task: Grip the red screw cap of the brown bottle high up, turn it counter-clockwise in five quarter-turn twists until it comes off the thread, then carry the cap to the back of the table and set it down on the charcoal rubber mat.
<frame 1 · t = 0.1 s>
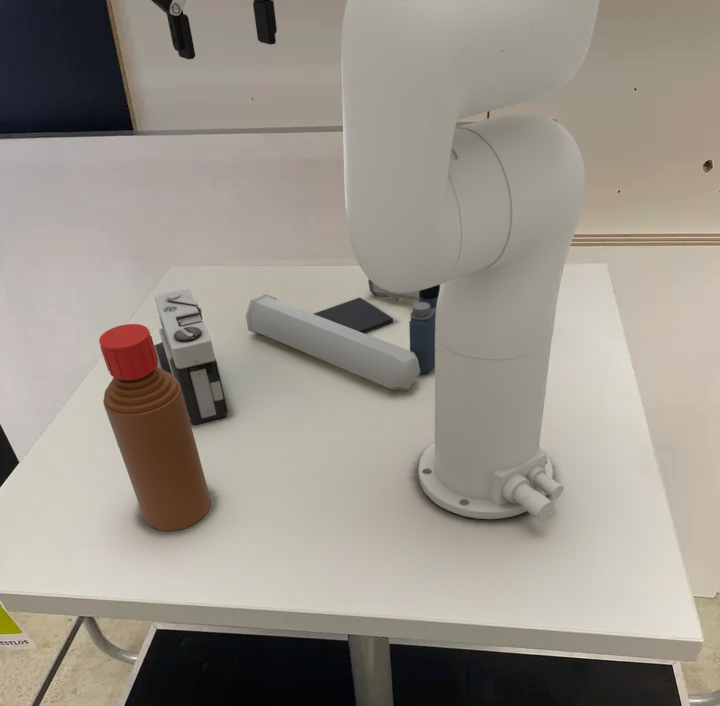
hand: (228, 50, 79), 31 cm above the table, tool pointing down, fingers open, 9 cm apart
camera: (184, 395, 84), on the table
tube: (333, 360, 88), on the table
white faceted cylinder: (454, 314, 95), on the table
bottle: (177, 507, 69), on the table
cap: (125, 339, 57), point 18 cm above the table, screwed on, not yet turned
mat: (351, 320, 95), on the table
vaping device: (425, 365, 86), on the table
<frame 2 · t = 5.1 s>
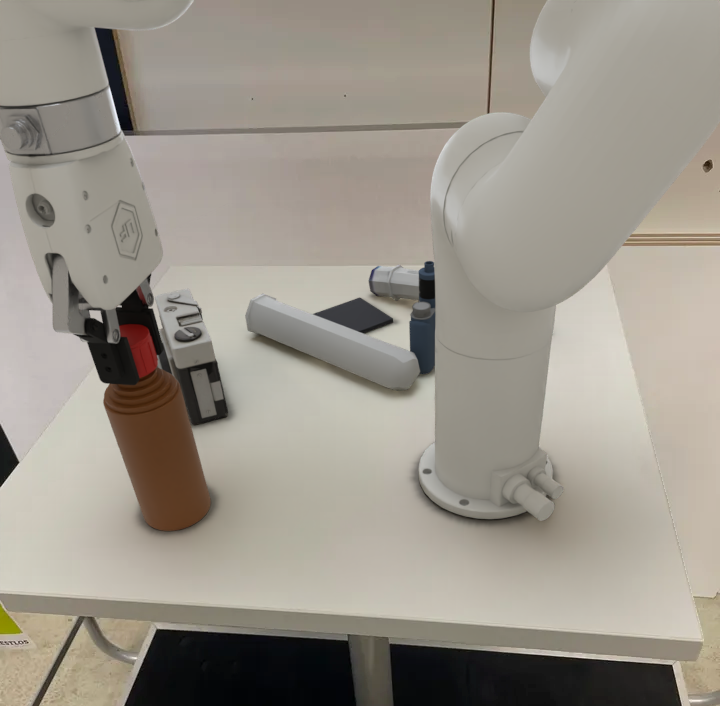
hand: (133, 365, 59), 16 cm above the table, tool pointing down, fingers closed on cap, 3 cm apart
cap: (125, 339, 57), point 18 cm above the table, screwed on, not yet turned, touching gripper
everything else where it was.
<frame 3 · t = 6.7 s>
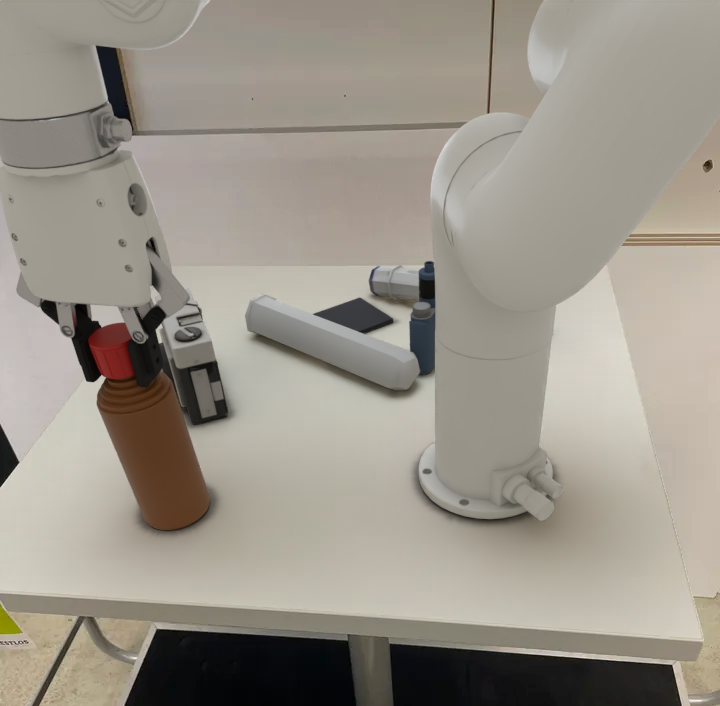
hand: (124, 374, 59), 15 cm above the table, tool pointing down, fingers closed on cap, 3 cm apart
bottle: (177, 506, 69), on the table, touching gripper
cap: (114, 337, 57), point 18 cm above the table, turned 89° so far, risen 0.1 cm, still on its thread, touching gripper
everything else where it was.
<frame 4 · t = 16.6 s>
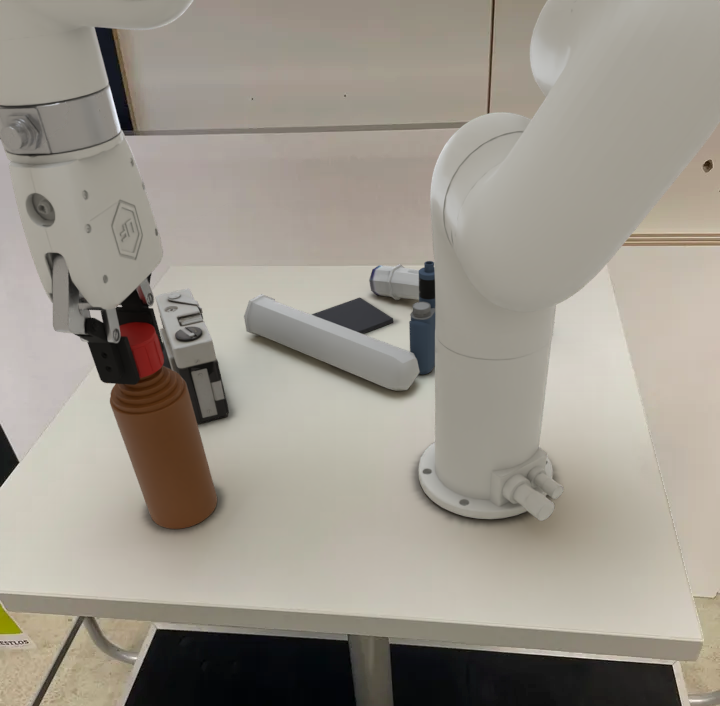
hand: (133, 364, 59), 16 cm above the table, tool pointing down, fingers closed on cap, 3 cm apart
bottle: (183, 505, 69), on the table
cap: (131, 337, 57), point 18 cm above the table, turned 90° so far, risen 0.1 cm, still on its thread, touching gripper
everything else where it was.
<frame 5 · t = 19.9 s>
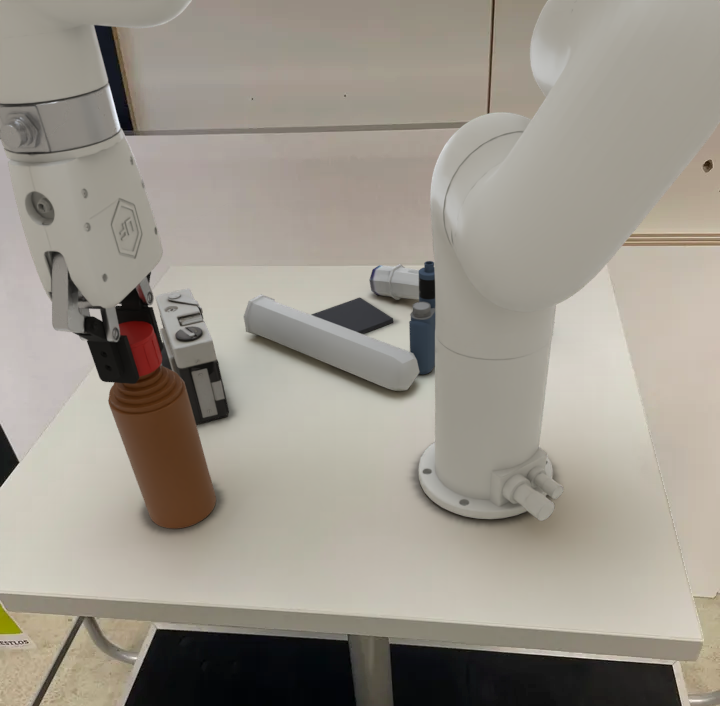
hand: (132, 363, 58), 16 cm above the table, tool pointing down, fingers closed on cap, 3 cm apart
cap: (129, 336, 57), point 18 cm above the table, turned 175° so far, risen 0.2 cm, still on its thread, touching gripper
everything else where it was.
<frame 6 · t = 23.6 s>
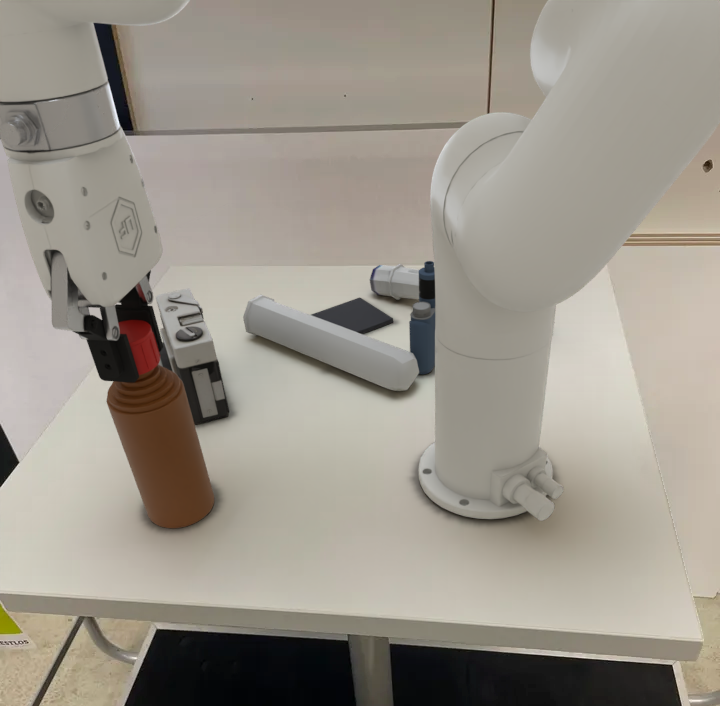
hand: (132, 362, 58), 16 cm above the table, tool pointing down, fingers closed on cap, 3 cm apart
cap: (127, 335, 57), point 18 cm above the table, turned 260° so far, risen 0.3 cm, still on its thread, touching gripper
everything else where it was.
when the fingers open (2 cm above the table, at t = 39.2 s): cap drops 1 cm, resting on mat.
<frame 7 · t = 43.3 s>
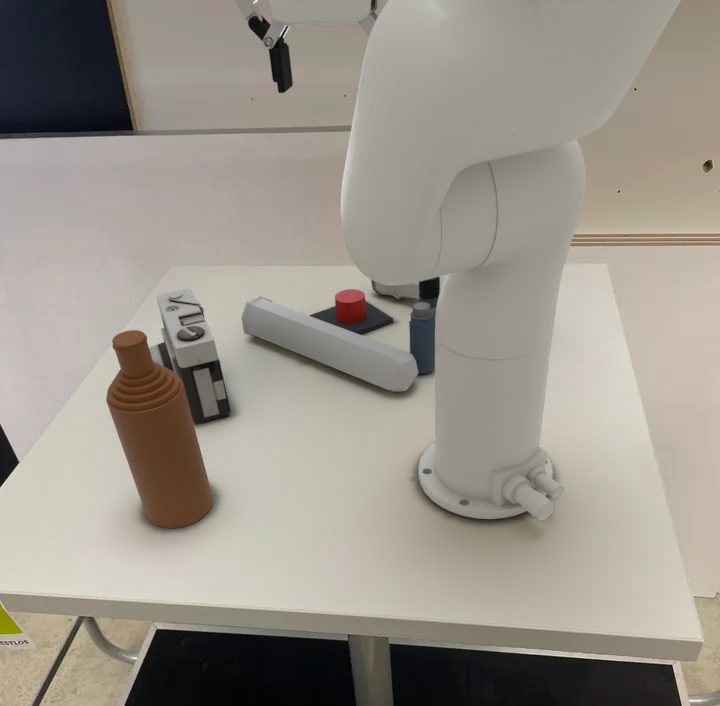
hand: (330, 88, 74), 28 cm above the table, tool pointing down, fingers open, 9 cm apart
cap: (349, 297, 93), point 3 cm above the table, off its thread, touching mat
everything else where it was.
at the end: cap came off its thread; cap inside the target area on the mat (0.1 cm from its centre), point 3.2 cm above the mat's base; the gripper is holding nothing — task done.
